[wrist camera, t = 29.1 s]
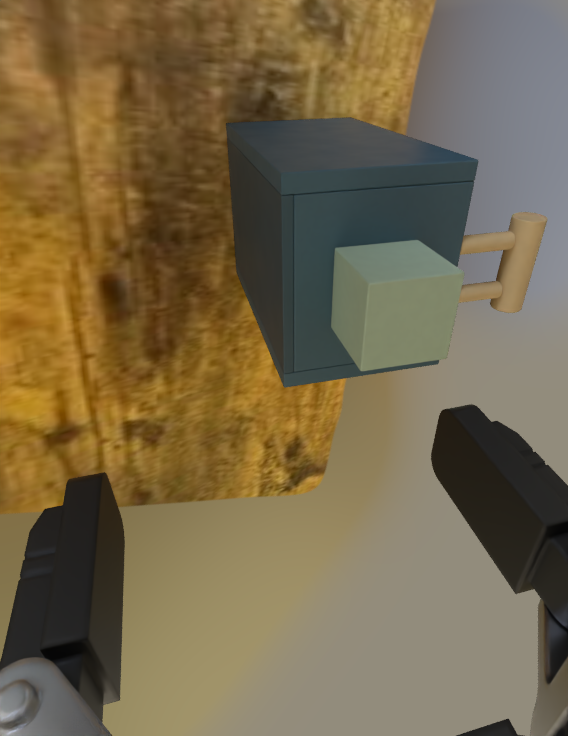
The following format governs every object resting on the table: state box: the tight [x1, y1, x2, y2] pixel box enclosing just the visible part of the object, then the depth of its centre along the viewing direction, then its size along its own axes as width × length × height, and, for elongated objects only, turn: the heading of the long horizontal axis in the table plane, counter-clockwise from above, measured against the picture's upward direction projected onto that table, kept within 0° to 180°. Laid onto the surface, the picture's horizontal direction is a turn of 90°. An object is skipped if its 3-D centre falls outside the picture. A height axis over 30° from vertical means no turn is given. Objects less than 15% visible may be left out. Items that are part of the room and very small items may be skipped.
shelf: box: [226, 117, 547, 387], centre depth 34 cm, size 18×12×15 cm
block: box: [331, 240, 464, 371], centre depth 24 cm, size 5×5×5 cm
